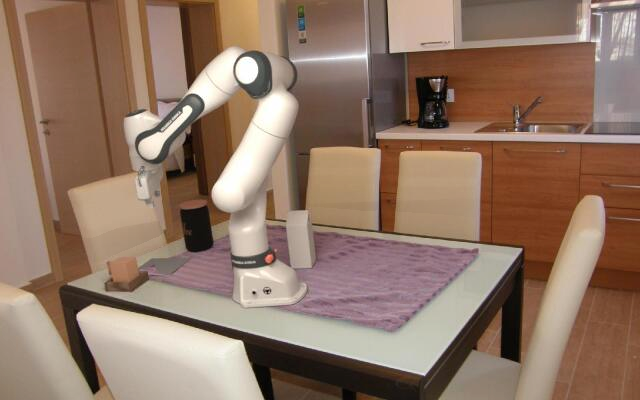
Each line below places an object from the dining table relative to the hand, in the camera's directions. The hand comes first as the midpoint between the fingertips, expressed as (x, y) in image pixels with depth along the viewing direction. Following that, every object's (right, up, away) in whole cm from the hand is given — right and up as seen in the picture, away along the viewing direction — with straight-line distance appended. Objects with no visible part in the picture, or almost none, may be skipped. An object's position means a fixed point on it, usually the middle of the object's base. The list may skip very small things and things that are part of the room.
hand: (154, 202), depth 186 cm
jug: (-12, -28, +7) cm, 31 cm away
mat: (-4, -23, +21) cm, 31 cm away
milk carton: (+48, -21, +9) cm, 53 cm away
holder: (-11, -28, +7) cm, 31 cm away
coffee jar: (+7, -18, +38) cm, 43 cm away
